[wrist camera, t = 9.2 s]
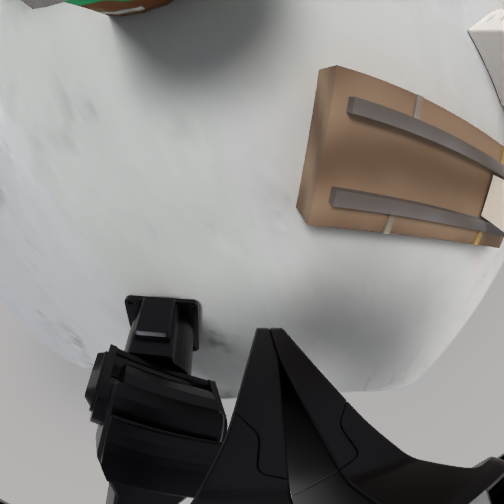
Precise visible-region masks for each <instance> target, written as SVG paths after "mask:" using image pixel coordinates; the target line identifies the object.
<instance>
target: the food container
mask: <svg viewBox="0 0 504 504" xmlns="http://www.w3.org/2000/svg"><path fill="white" fill-rule="evenodd" d="M21 1H23V2H24V3H25V4H27V5H28V6H29V7H31V8H32V9H35V8H41V7H47V6H51V5H54V4H58V3H61V2H67V3H71V4H74V5H78V6H81V7H85V8H88V9H91V10H94V11H97V12H100V13H103V14H106V15H111V16H126V15H132V14H138V13H145V12H147V11H150V10H153V9H156V8H159V7H161V6H164V5H167V4H169V3H170V2H172V1H174V0H21Z"/></svg>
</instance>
